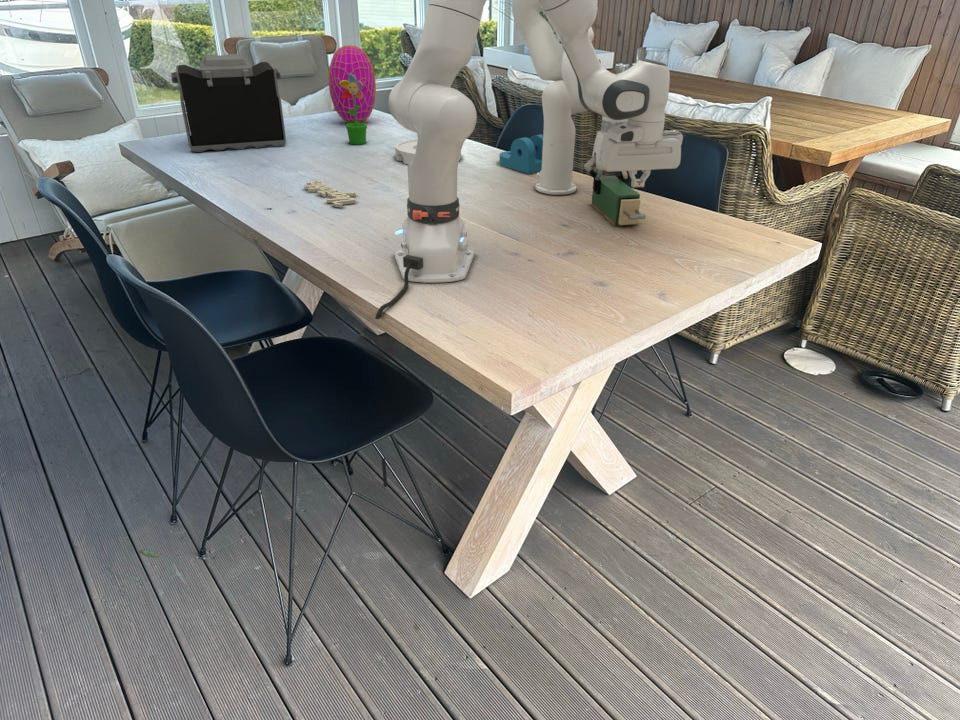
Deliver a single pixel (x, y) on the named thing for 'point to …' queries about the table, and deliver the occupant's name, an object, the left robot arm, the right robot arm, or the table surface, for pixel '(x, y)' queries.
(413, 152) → the ashtray
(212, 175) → the table surface
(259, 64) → the electronic device
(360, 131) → the potted flower
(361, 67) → the decorative egg
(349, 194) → the decorative sign
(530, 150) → the camera mount
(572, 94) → the right robot arm
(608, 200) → the cabinet
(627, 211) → the drawer
